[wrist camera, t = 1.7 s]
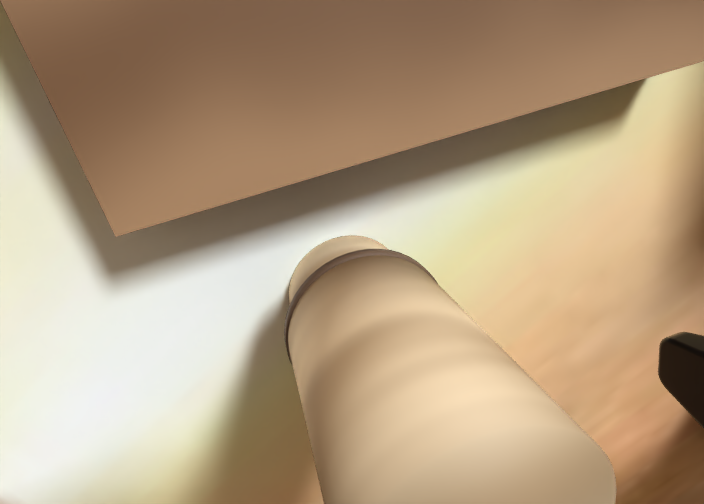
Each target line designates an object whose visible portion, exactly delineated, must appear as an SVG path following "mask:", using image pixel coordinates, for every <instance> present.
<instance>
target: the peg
mask: <svg viewBox="0 0 704 504" xmlns="http://www.w3.org/2000/svg"><path fill="white" fill-rule="evenodd" d="M289 304H290V306H289V309H288V312H287V315H286V320H285V331H284V335H285V344H286V348H287V352H288V356H289V359H290V362H291V364H292V366H293V369H294V374H295V378H296V382H297V387H298V391H299V395H300V400H301V404H302V409H303V413H304V417H305V422H306V426H307V430H308V435H309V439H310V444H311V448H312V452H313V457H314V461H315V466H316V470H317V474H318V479H319V483H320V487H321V492H322V496H323V501H324V504H615V501H616V490H617V489H616V477H615V473H614V470H613V466H612V464H611V462H610V460H609V458H608V456H607V455H606V454H605V452H604V451H603V450H602V449H601V447H600V446H599V445H598V444H597V443H596V442H595V441H594V440H593V439H592V438H591V437H590V436H589V435H588V434H587V433H586V432H585V431H584V430H583V429H582V428H581V427H580V426H579V425H578V424H577V423H576V422H575V421H574V420H573V419H572V418H571V417H570V416H569V415H568V414H567V413H566V412H565V411H564V410H563V409H562V408H561V407H560V406H559V405H558V404H557V403H556V402H555V401H554V400H553V399H552V398H551V397H550V396H549V395H548V394H547V393H546V392H545V391H544V390H543V389H542V388H541V387H540V386H539V385H538V384H537V383H536V382H535V381H534V380H533V379H532V378H531V377H530V376H529V375H528V374H527V373H526V372H525V371H524V370H523V369H522V368H521V367H520V366H519V365H518V364H517V363H516V362H515V361H514V360H513V359H512V358H511V357H510V356H509V355H508V354H507V353H506V352H505V351H504V350H503V349H502V348H501V347H500V346H499V345H498V344H497V343H496V342H495V341H494V340H493V339H492V338H491V337H490V336H489V335H488V334H487V333H486V332H485V331H484V330H483V329H482V328H481V327H480V326H479V325H478V324H477V323H476V322H475V321H474V320H473V319H472V318H471V317H470V316H469V315H468V314H467V313H466V312H465V311H464V310H463V309H462V308H461V307H460V306H459V305H458V304H457V303H456V302H455V301H454V300H453V299H452V298H451V297H450V296H449V295H448V294H447V293H446V292H445V291H444V290H443V289H442V288H441V287H440V286H439V285H438V283H437V282H436V280H435V279H434V278H433V276H432V275H431V274H430V273H429V272H428V271H427V270H426V269H425V268H424V267H423V266H422V265H421V264H419V263H418V262H417V261H415V260H414V259H412V258H411V257H409V256H407V255H404V254H402V253H399V252H396V251H392V250H389V249H387V248H386V247H385V246H384V245H382V244H381V243H379V242H377V241H375V240H373V239H370V238H367V237H363V236H341V237H337V238H333V239H330V240H328V241H325V242H323V243H321V244H320V245H318V246H316V247H315V248H314V249H312V250H311V251H310V252H309V253H308V254H306V255H305V257H304V258H303V259H302V260H301V261H300V263H299V264H298V266H297V267H296V269H295V271H294V273H293V275H292V278H291V281H290V286H289Z"/></svg>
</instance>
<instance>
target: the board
mask: <svg viewBox="0 0 704 504" xmlns="http://www.w3.org/2000/svg"><path fill="white" fill-rule="evenodd" d="M0 1H1V3H2V5H3V7H4V10H5V12H6V14H7V16H8V18H9V20H10V22H11V24H12V26H13V28H14V30H15V32H16V34H17V36H18V38H19V40H20V42H21V44H22V46H23V48H24V50H25V53H26V55H27V57H28V59H29V61H30V63H31V65H32V67H33V69H34V71H35V73H36V75H37V77H38V79H39V81H40V83H41V85H42V87H43V89H44V91H45V93H46V95H47V98H48V100H49V102H50V104H51V106H52V108H53V110H54V112H55V114H56V116H57V118H58V120H59V122H60V124H61V126H62V128H63V130H64V132H65V134H66V136H67V138H68V141H69V143H70V145H71V147H72V149H73V151H74V153H75V155H76V157H77V159H78V161H79V163H80V165H81V167H82V169H83V171H84V173H85V175H86V177H87V179H88V181H89V184H90V186H91V188H92V190H93V192H94V194H95V196H96V198H97V200H98V202H99V204H100V206H101V208H102V210H103V212H104V214H105V216H106V218H107V220H108V222H109V224H110V227H111V229H112V231H113V233H114V235H115V237H117V236H120V235H124V234H127V233H130V232H134V231H137V230H140V229H144V228H147V227H150V226H154V225H157V224H160V223H164V222H167V221H170V220H174V219H177V218H180V217H184V216H187V215H190V214H194V213H197V212H201V211H204V210H207V209H211V208H214V207H217V206H221V205H224V204H227V203H231V202H234V201H237V200H241V199H244V198H247V197H251V196H254V195H257V194H261V193H264V192H267V191H271V190H274V189H277V188H281V187H284V186H287V185H291V184H294V183H298V182H301V181H304V180H308V179H311V178H314V177H318V176H321V175H324V174H328V173H331V172H334V171H338V170H341V169H344V168H348V167H351V166H354V165H358V164H361V163H364V162H368V161H371V160H374V159H378V158H381V157H384V156H388V155H391V154H394V153H398V152H401V151H405V150H408V149H411V148H415V147H418V146H421V145H425V144H428V143H431V142H435V141H438V140H441V139H445V138H448V137H451V136H455V135H458V134H461V133H465V132H468V131H471V130H475V129H478V128H481V127H485V126H488V125H491V124H495V123H498V122H502V121H505V120H508V119H512V118H515V117H518V116H522V115H525V114H528V113H532V112H535V111H538V110H542V109H545V108H548V107H552V106H555V105H558V104H562V103H565V102H568V101H572V100H575V99H578V98H582V97H585V96H588V95H592V94H595V93H598V92H602V91H605V90H609V89H612V88H615V87H619V86H622V85H625V84H629V83H632V82H635V81H639V80H642V79H645V78H649V77H652V76H655V75H659V74H662V73H665V72H669V71H672V70H675V69H679V68H682V67H685V66H689V65H692V64H695V63H699V62H702V61H704V0H0Z"/></svg>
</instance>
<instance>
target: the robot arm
mask: <svg viewBox="0 0 704 504" xmlns="http://www.w3.org/2000/svg"><path fill="white" fill-rule="evenodd" d="M658 375H659V378H660V380H661V382H662V384H663V385H664V387H665V388H666V389H667V390H668V391H669V392H670V393H671V394H672V395H673V396H674V397H675V398H676V400H677V401H678V402H679V403H680V404H681V405H682V406H683V407H684V408H685V409H686V410H687V411H688V412H689V413H690V414H691V416H692V417H693V418H694V419H695V420H696V421H697V422H698V423H699V424H700V425H701V426H702V427H703V428H704V336H702V335H697V334H693V333H688V332H680V333H677V334H674V335H671V336H669V337H666V338H664V339H663V340H662V341H661V343H660V347H659V366H658Z"/></svg>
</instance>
